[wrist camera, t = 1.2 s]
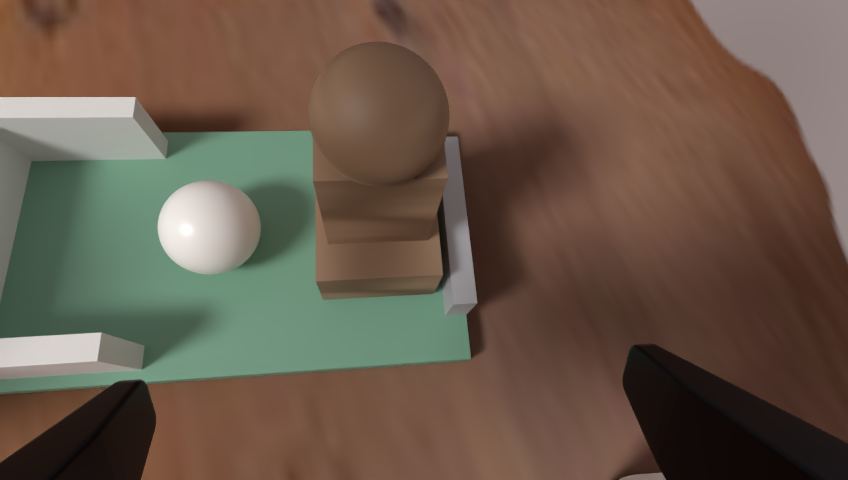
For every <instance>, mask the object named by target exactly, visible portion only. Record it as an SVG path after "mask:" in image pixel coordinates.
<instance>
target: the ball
mask: <svg viewBox="0 0 848 480" xmlns="http://www.w3.org/2000/svg"><path fill="white" fill-rule="evenodd" d="M260 234H261V222H260V217H259V214H258V211H257V209H256V207H255V205H254V204H253V202H252V201H251V199H250V198H249V197H248V196H247V195H246V194H245V193H244V192H242V191H241V190H240V189H238V188H236V187H235V186H232V185H230V184H228V183H224V182H221V181H213V180H203V181H197V182H193V183H190V184H187V185H185V186H183V187H181V188H180V189H178V190H177V191H175V192H174V193H173V194H172V195H171V196H170V197H169V198H168V199H167V201H166V202H165V203H164V205H163V207H162V209H161V212H160V214H159V218H158V235H159V240H160V242H161V245H162V247H163V249H164V250H165V252H166V253H167V255H168V256H169V257H170V258H171V259H172V260H173V261H174V262H175V263H176V264H178V265H179V266H181V267H183V268H184V269H186V270H189V271H191V272H195V273H199V274H207V275H213V274H220V273H225V272H228V271H231V270H233V269H235V268H237V267H239V266H240V265H242V264H243V263H244V262H245V261H246V260H248V259H249V257H250V256H251V255H252V254H253V252H254V251H255V249H256V247H257V245H258V242H259V239H260Z"/></svg>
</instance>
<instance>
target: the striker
mask: <svg viewBox="0 0 848 480" xmlns="http://www.w3.org/2000/svg"><path fill="white" fill-rule="evenodd" d="M308 115H309V126H310V130H311V134H312V137H313V184H314V188H315V236H316V283H317V286H318V288H319V291H320V293H321V296H322V298H323V300H331V299H349V298H368V297H386V296H405V295H424V294H434V292H435V290H436V288H437V286H438V284H439V282H440V280H441V278H442V276H443V268H442V258H441V248H440V237H439V227H438V216H437V210H438V207H439V204H440V201H441V198H442V195H443V192H444V189H445V186H446V183H447V180H448V173H447V163H446V154H445V145H444V142H445V140H446V136H447V133H448V127H449V105H448V99H447V96H446V92H445V90H444V87H443V85H442V83H441V81H440V79H439V77H438V75H437V74H436V73H435V71H434V70H433V68H432V67H431V66H430V65H429V64H428V63H427V62H426V61H425V60H424V59H422V58H421V57H420V56H419V55H417V54H416V53H414V52H413V51H411V50H409V49H407V48H405V47H402V46H399V45H396V44H392V43H387V42H368V43H362V44H359V45H355V46H352V47H350V48H348V49H346V50H344V51H342V52H341V53H339V54H338V55H336V56H335V57H334V58H333V59H332V60H330V61H329V62H328V63H327V65H326V66H325V67H324V68H323V70H322V71H321V72H320V74H319V76H318V77H317V79H316V81H315V84H314V86H313V89H312V91H311V95H310V100H309V109H308Z"/></svg>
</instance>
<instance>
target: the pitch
mask: <svg viewBox="0 0 848 480" xmlns="http://www.w3.org/2000/svg"><path fill="white" fill-rule="evenodd" d="M444 145H445V154H446V163H447V173H448V180H447V183H446V186H445V189H444V192H443V195H442V198H441V201H440V204H439V207H438V210H437V216H438V227H439V237H440V248H441V258H442V268H443V276H442V278H441V280H440V282H439V284H438V286H437V288H436V290H435V292H434V294H424V295H405V296H386V297H368V298H349V299H331V300H323V298H322V296H321V293H320V291H319V288H318V286H317V283H316V236H315V188H314V184H313V137H312V134H311V131H254V132H161V131H160V129H159V128H158V127H157V125H156V124H155V123H154V121H153V120H152V119H151V117H150V116H149V115H148V113H147V112H146V111H145V109H144V108H143V106H142V105H141V104H140V102H139V101H138V100H137V98H136V97H0V395H3V394H17V393H31V392H45V391H59V390H73V389H86V388H100V387H109V386H111V385H112V384H114V383H115V382H117V381H122V380H135V379H141V380H143V381H145V383H146V384H156V383H170V382H184V381H197V380H211V379H225V378H239V377H253V376H267V375H281V374H295V373H309V372H322V371H336V370H350V369H364V368H378V367H392V366H406V365H420V364H434V363H447V362H461V361H468V360H470V359H471V354H470V345H469V336H468V327H467V317H466V315H467V313H468V312H469V311H470V310H471V309H472V308H473V307H474V306H475V305H476V304H477V295H476V287H475V278H474V270H473V261H472V253H471V245H470V236H469V228H468V219H467V211H466V202H465V194H464V185H463V177H462V169H461V160H460V152H459V143H458V137H447V136H446V140H445V142H444ZM203 180H213V181H221V182H224V183H228V184H230V185H232V186H235V187H236V188H238V189H240V190H241V191H242V192H244V193H245V194H246V195H247V196H248V197H249V198H250V199H251V201H252V202H253V204H254V205H255V207H256V209H257V211H258V214H259V217H260V222H261V234H260V239H259V242H258V245H257V247H256V249H255V251H254V252H253V254H252V255H251V256H250V257H249V259H248V260H246V261H245V262H244V263H243V264H242V265H240V266H239V267H237V268H235V269H233V270H231V271H228V272H225V273H220V274H213V275H207V274H199V273H195V272H191V271H189V270H186V269H184V268H183V267H181V266H179V265H178V264H176V263H175V262H174V261H173V260H172V259H171V258H170V257H169V256H168V255H167V253H166V252H165V250H164V249H163V247H162V245H161V242H160V240H159V235H158V218H159V214H160V212H161V209H162V207H163V205H164V203H165V202H166V201H167V199H168V198H169V197H170V196H171V195H172V194H173V193H174V192H175V191H177V190H178V189H180V188H181V187H183V186H185V185H187V184H190V183H193V182H197V181H203Z"/></svg>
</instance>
